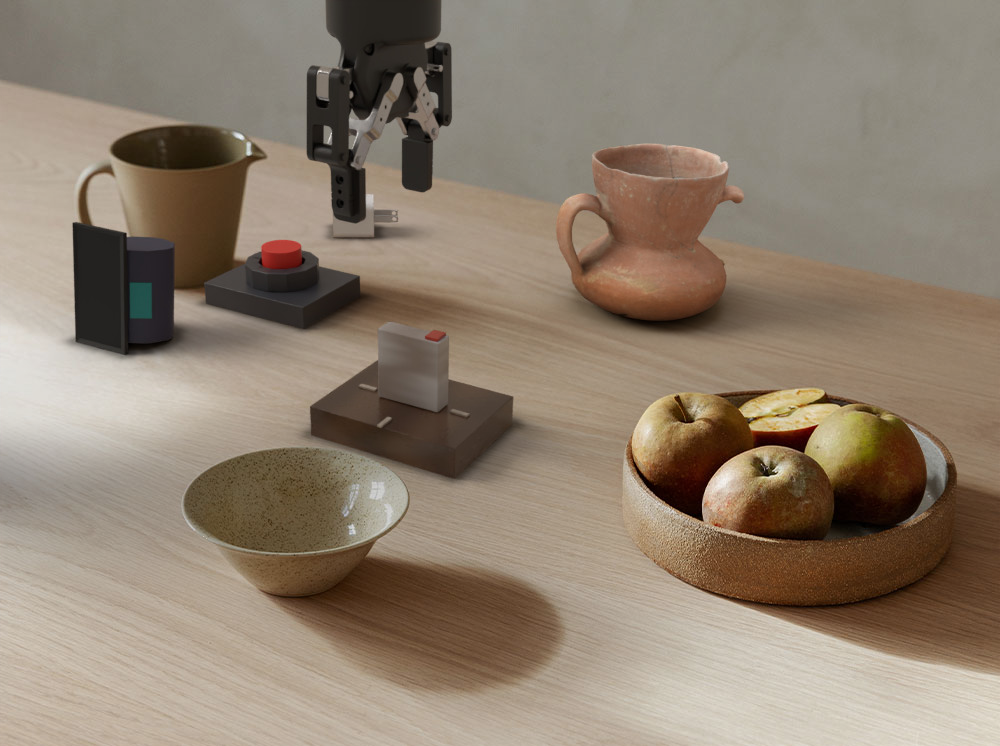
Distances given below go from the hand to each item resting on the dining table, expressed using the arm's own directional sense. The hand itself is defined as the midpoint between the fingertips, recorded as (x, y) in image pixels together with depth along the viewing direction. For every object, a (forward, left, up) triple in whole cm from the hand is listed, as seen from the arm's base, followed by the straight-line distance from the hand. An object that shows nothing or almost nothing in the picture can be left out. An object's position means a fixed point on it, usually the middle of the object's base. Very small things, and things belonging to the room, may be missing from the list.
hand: (384, 204), depth 78 cm
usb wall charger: (-23, +33, -16) cm, 44 cm away
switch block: (-19, +13, -16) cm, 28 cm away
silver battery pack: (+4, -2, -14) cm, 14 cm away
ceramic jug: (+10, +30, -16) cm, 35 cm away
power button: (-19, +13, -13) cm, 26 cm away
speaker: (-25, 0, -16) cm, 30 cm away
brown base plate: (+4, -2, -16) cm, 17 cm away
